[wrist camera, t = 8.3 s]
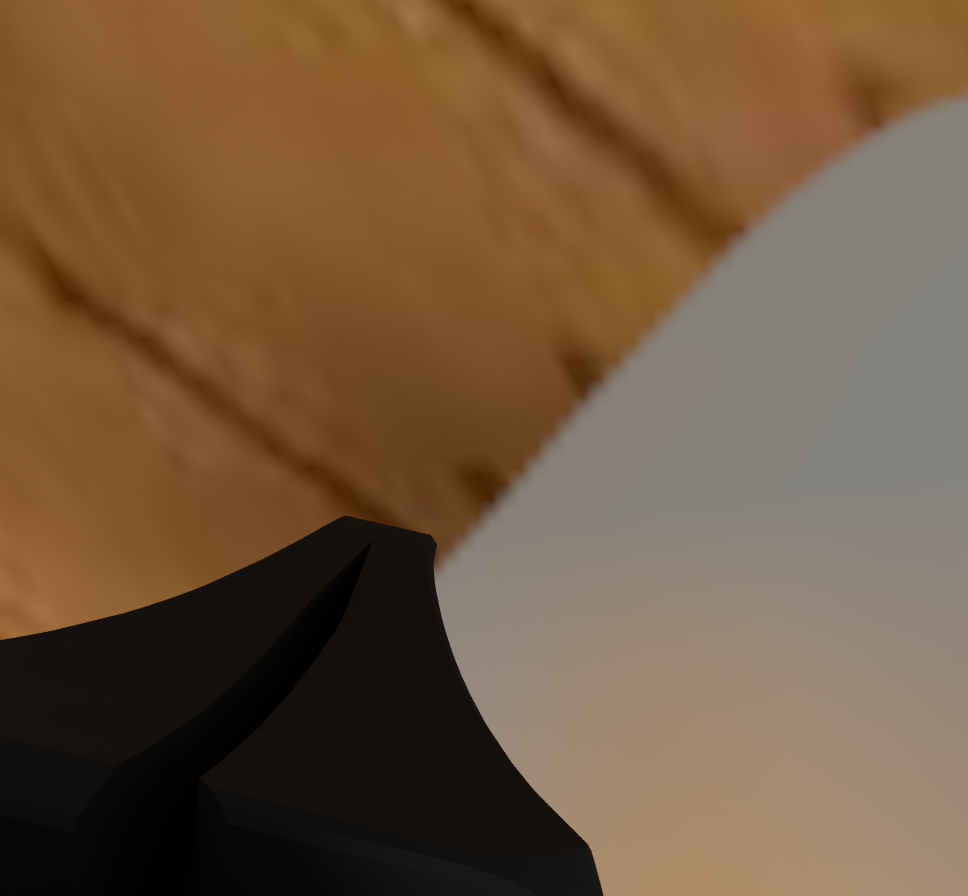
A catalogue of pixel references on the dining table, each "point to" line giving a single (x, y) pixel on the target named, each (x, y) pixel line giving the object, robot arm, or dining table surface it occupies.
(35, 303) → the dining table surface
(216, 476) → the dining table surface
